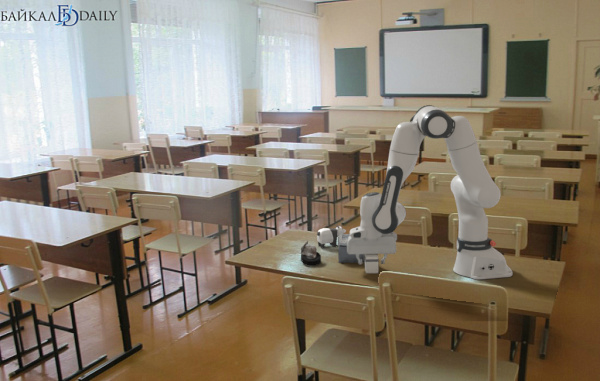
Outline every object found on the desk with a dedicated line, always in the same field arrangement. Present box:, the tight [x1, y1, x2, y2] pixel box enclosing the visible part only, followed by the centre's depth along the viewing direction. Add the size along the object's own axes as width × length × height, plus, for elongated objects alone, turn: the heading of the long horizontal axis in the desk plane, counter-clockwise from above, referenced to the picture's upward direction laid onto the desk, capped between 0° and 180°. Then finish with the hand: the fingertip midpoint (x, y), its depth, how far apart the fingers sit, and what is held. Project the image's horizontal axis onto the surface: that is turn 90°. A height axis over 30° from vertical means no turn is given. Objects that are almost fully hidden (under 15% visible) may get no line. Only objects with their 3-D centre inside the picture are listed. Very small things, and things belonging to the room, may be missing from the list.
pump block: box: [364, 254, 380, 274], centre depth 223 cm, size 5×8×7 cm, turn 176°
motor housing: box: [337, 233, 365, 264], centre depth 238 cm, size 11×15×9 cm
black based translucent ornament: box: [300, 240, 322, 267], centre depth 234 cm, size 7×11×10 cm
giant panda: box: [316, 224, 347, 249], centre depth 255 cm, size 15×6×10 cm, turn 110°
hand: (371, 263), depth 223 cm, fingers open, 8 cm apart
